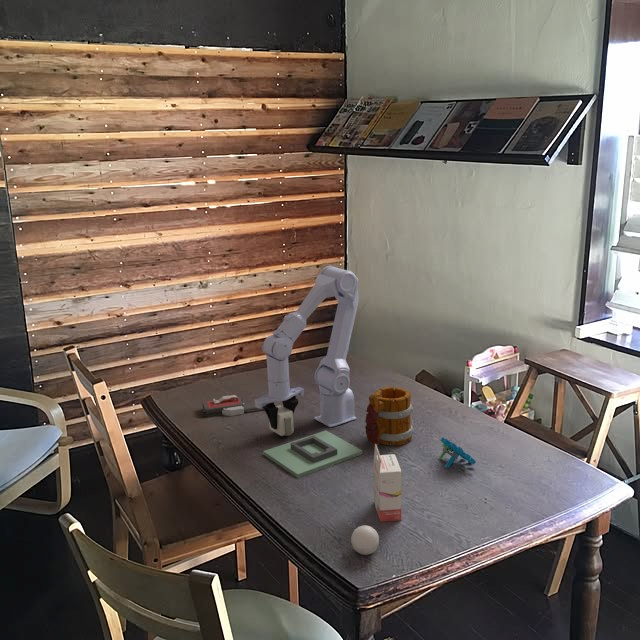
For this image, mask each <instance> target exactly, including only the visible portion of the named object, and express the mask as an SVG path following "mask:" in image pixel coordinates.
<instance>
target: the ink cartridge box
mask: <svg viewBox="0 0 640 640" xmlns="http://www.w3.org/2000/svg"><path fill="white" fill-rule="evenodd" d="M373 490H374V491H373V503H374V507H375V510H376V512H377V516H378V519H379V522H380V523H381V522H395V521H398V522H399V521H402V469H401V466H400V464H399V461H398V459H397V455H396V454H381V455H380V451H379V449H378V445H377V446H376V444H375V446H374V452H373Z"/></svg>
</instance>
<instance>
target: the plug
mask: <svg viewBox="0 0 640 640" xmlns="http://www.w3.org/2000/svg"><path fill="white" fill-rule="evenodd" d="M275 406H276V405H275ZM276 407H277V408H279V409H278V414H277V429H273V428H272V427H271V424H270V421H269V420H268V424H269V430H271V431H272V432H274V433H275V434H277V435H278V436H281V437H283V436H285V437H286V436H287V437H288V436H291V435H293V433H294V430H295V429H294V414H293V412H292V411H290V410H289V409H287V408H285V407H283V405H281V404H279V405H277V406H276Z"/></svg>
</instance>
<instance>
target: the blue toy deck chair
mask: <svg viewBox="0 0 640 640" xmlns="http://www.w3.org/2000/svg"><path fill="white" fill-rule="evenodd" d="M440 441H441V443H442V445H441V446H442V447H443V448H442V452H441V454H440V455H439V457H438V460H440V461H442V459H443V457H444V456H445V454H446V455H449V456H451V457H450V458H449V460H448V461H447V462H446V463H445V465H444V467H445V468H446V469H449V468H450V467H451V465H452V464H453V462H454V461H455V460H457V459H458V458H459V456H460V458H462V459H463V460H465V461H466V462H468V463H469V464H472V465H475V464H476V463H477V461H476V460H475V458H473V457H472V456H471V455H470V454H468V453H466V452H464V450H463V448H462V447H461V446H458V445H456V444H455V443H454V442H452V441H450V440H448V439H447V438H444V437H441V439H440Z"/></svg>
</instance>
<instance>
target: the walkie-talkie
mask: <svg viewBox="0 0 640 640" xmlns="http://www.w3.org/2000/svg"><path fill="white" fill-rule="evenodd" d="M244 406H245V402H244V399H243V398H240V397H239V396H237V395H236V394H230V395H223V396H221V397H220V398H219V399H216V398H212V400H207V401H202V412H201V416H203V417H206V418H208V417H209V418H210V417H215V416H228V417H233V416H238V415H241V416H242V415H244V414H245V413H247V412H251V411H257V410H259V409H258V408H256V407H255V406H249V407H244ZM261 409H263V407H262V408H261Z"/></svg>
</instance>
